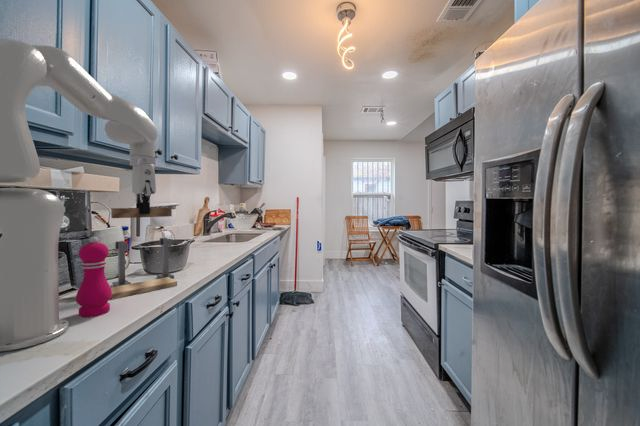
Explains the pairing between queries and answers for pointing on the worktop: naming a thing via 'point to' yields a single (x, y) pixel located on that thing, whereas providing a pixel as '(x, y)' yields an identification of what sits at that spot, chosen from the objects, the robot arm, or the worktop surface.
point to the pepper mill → (93, 280)
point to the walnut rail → (135, 212)
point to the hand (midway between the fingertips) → (143, 213)
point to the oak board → (142, 287)
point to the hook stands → (121, 261)
